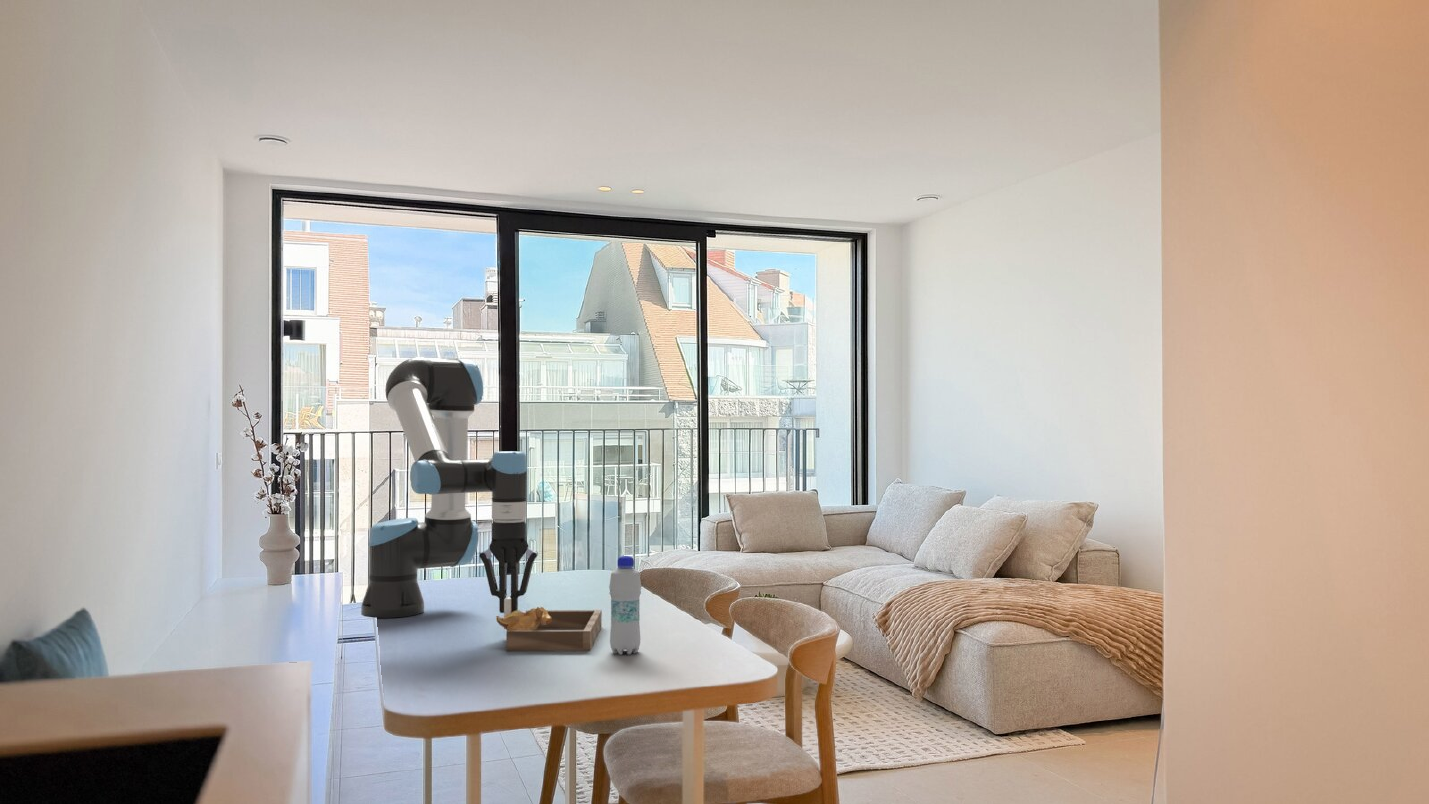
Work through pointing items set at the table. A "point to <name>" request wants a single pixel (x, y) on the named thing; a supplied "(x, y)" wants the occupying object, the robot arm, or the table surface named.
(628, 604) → the bottle
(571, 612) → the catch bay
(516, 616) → the golden dog figurine
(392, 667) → the table surface
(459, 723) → the table surface
